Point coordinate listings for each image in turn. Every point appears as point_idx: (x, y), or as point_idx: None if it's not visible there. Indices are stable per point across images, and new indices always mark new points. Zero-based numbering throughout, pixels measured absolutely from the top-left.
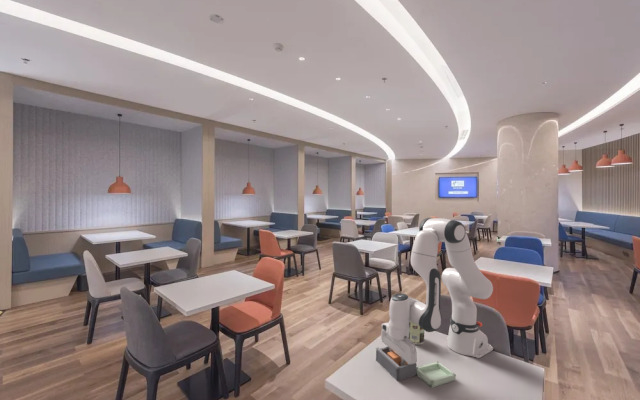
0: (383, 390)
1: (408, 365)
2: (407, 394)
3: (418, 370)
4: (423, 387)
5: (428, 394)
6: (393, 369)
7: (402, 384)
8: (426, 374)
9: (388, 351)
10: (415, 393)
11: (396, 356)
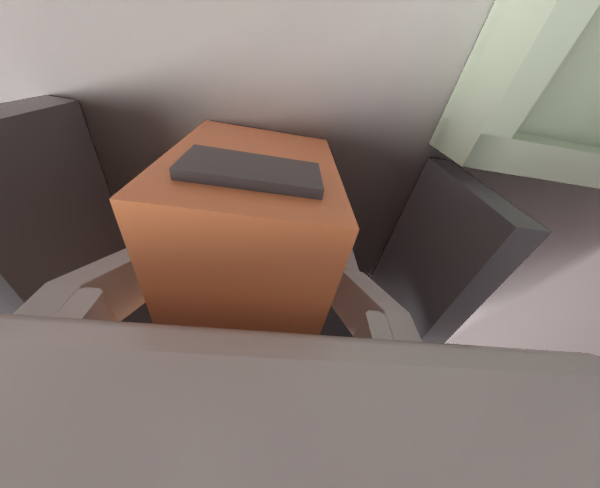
0: None
1: (453, 325)
2: (465, 328)
3: (516, 174)
4: (548, 229)
5: (592, 252)
6: None
7: None
8: (587, 51)
9: (54, 250)
10: (503, 300)
11: None
